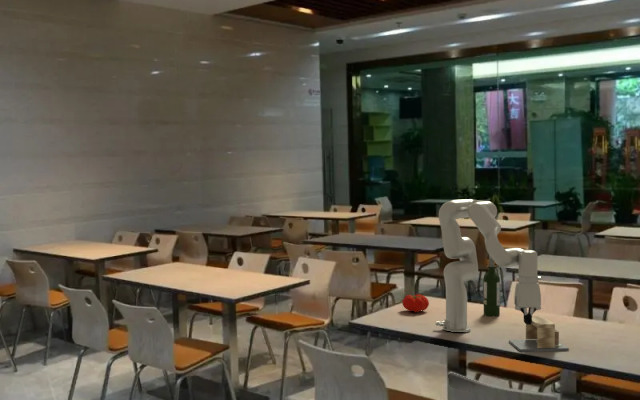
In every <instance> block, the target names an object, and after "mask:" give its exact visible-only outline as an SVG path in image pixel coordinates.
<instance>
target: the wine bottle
mask: <svg viewBox="0 0 640 400" xmlns="http://www.w3.org/2000/svg"><path fill="white" fill-rule="evenodd" d="M495 264H496V263H495V262H494V260H493V259H492V258H491V256H490V255H489V256H488V272H487V273H486V274H485V275H484V277H483V315H484V316H485V315H486V317H492V316H495V317H499V316H500V314H501V313H500V311H501V310H500V306H501V305H500V301H501V299H500V298H501V296H500V295H501V293H500V289H501V288H500V287H501V281H500V280H501V278H500V275H499V274H498V273H497V272H496V269H495V266H496V265H495Z"/></svg>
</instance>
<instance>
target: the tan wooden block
mask: <svg viewBox="0 0 640 400" xmlns="http://www.w3.org/2000/svg"><path fill="white" fill-rule="evenodd" d="M555 330H556V324H555V323H554V322H552V321H551V320H549V319H547V318H545V317H544V316H533V315H532V322H531V325H529V324H528V325H527V324H525V340H533V339H537V348H555Z"/></svg>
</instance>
